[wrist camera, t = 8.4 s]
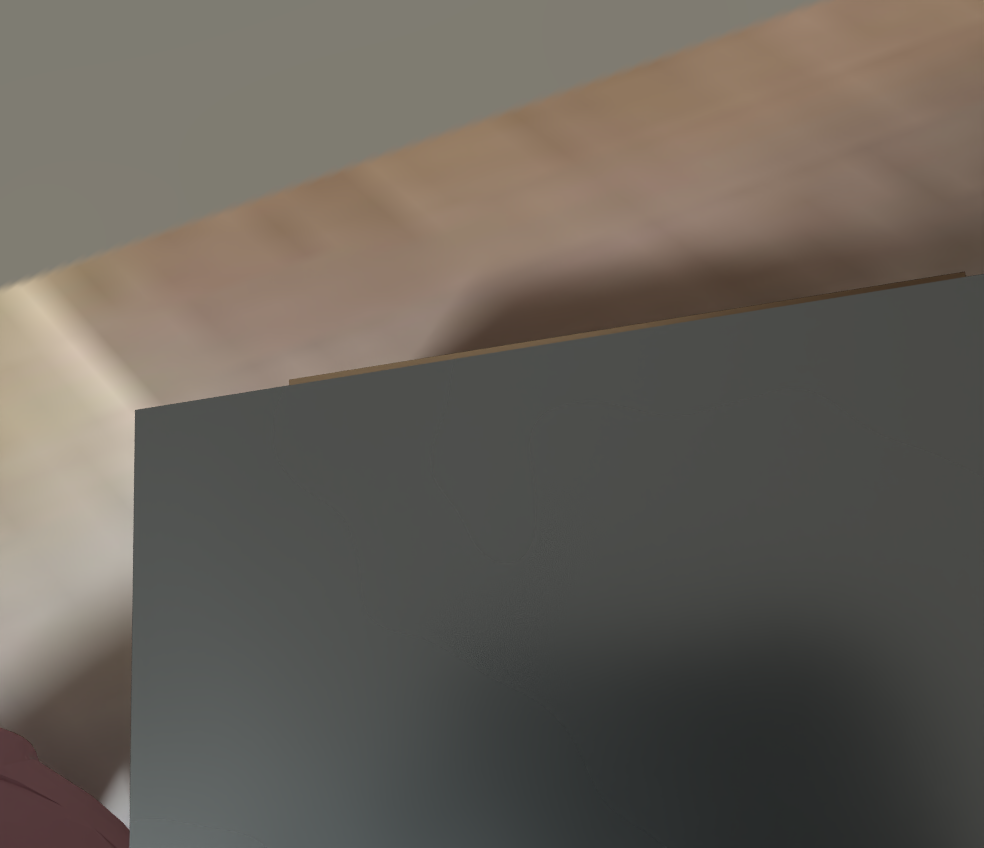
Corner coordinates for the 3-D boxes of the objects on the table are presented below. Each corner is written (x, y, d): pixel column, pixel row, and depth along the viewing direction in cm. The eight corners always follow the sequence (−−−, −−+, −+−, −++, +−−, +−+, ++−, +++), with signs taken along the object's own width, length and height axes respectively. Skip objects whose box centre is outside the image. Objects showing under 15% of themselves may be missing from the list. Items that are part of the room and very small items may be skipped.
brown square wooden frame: (1050, 990, 15) (1182, 1112, 11) (396, 1010, 17) (317, 1119, 13) (901, 347, 18) (964, 271, 14) (360, 427, 20) (289, 379, 16)
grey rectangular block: (803, 801, 14) (1476, 1630, 2) (556, 818, 14) (120, 1520, 3) (758, 552, 15) (1069, 261, 3) (530, 578, 15) (133, 408, 4)
